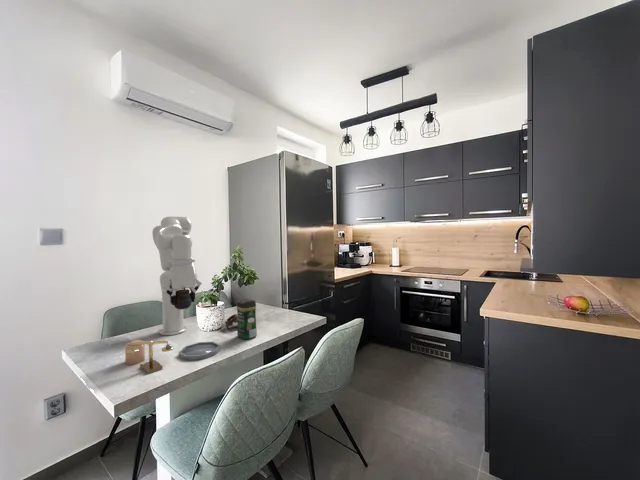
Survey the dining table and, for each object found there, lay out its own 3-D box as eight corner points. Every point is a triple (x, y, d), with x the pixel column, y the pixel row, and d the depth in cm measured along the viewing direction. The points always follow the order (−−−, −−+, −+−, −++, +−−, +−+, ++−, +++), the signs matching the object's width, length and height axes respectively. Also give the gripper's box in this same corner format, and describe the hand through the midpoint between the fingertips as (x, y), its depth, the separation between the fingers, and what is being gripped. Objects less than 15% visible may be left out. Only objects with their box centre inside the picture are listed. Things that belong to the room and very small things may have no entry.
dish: (174, 353, 117) (174, 349, 117) (208, 343, 128) (208, 339, 128) (189, 363, 107) (189, 359, 107) (225, 351, 118) (225, 347, 118)
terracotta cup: (123, 361, 110) (122, 342, 110) (141, 356, 114) (141, 338, 114) (128, 366, 105) (128, 346, 105) (147, 360, 110) (147, 341, 110)
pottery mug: (243, 331, 145) (235, 319, 143) (228, 338, 146) (220, 326, 145) (250, 319, 156) (242, 307, 155) (236, 326, 158) (228, 314, 156)
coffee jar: (234, 336, 136) (234, 298, 136) (249, 332, 142) (248, 295, 142) (244, 341, 129) (243, 301, 129) (259, 337, 135) (258, 298, 134)
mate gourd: (187, 305, 128) (187, 283, 128) (195, 308, 123) (195, 285, 123) (170, 308, 122) (170, 285, 122) (178, 311, 117) (178, 287, 117)
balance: (123, 372, 100) (122, 341, 100) (169, 358, 112) (168, 330, 112) (129, 380, 95) (128, 346, 95) (177, 364, 107) (176, 334, 107)
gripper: (198, 261, 131) (199, 298, 131) (157, 264, 119) (158, 305, 119) (205, 261, 126) (206, 300, 126) (163, 264, 114) (164, 308, 114)
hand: (183, 302), depth 122 cm, fingers closed on mate gourd, 7 cm apart
